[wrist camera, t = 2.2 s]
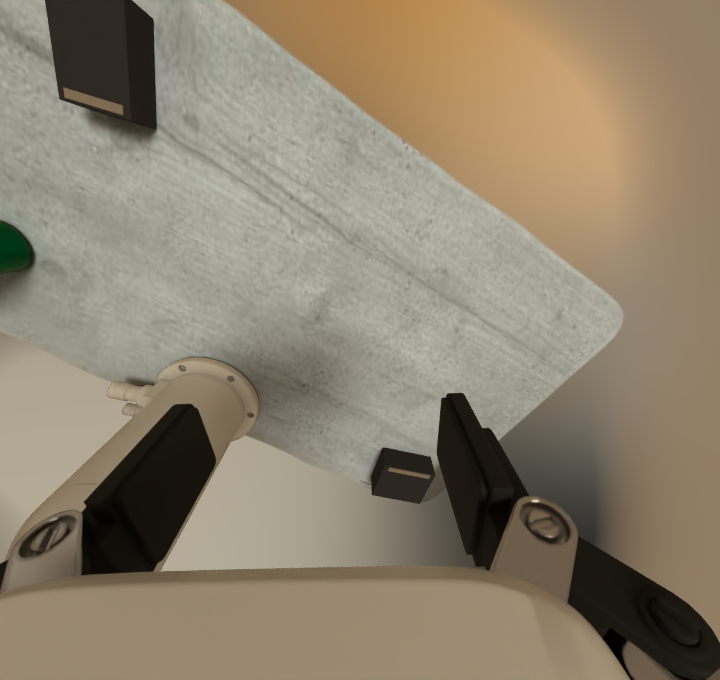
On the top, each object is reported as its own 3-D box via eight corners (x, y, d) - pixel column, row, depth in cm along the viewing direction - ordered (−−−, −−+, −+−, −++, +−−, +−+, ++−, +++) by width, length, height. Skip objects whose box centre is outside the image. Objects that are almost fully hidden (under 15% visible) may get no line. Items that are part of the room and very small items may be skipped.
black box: (93, 110, 24) (57, 98, 21) (81, -6, 21) (37, -39, 18) (156, 129, 24) (130, 120, 21) (153, 18, 21) (122, -9, 19)
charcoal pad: (371, 476, 42) (371, 495, 40) (383, 447, 40) (384, 465, 37) (416, 485, 43) (419, 504, 40) (430, 456, 41) (435, 475, 38)
